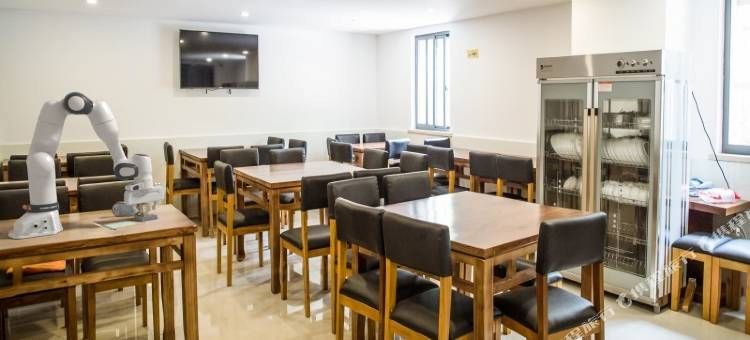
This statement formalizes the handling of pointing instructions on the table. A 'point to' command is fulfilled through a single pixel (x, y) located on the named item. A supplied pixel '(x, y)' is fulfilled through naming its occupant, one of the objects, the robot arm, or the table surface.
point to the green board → (118, 224)
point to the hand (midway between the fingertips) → (145, 211)
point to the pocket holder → (145, 218)
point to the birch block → (145, 210)
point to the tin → (124, 209)
